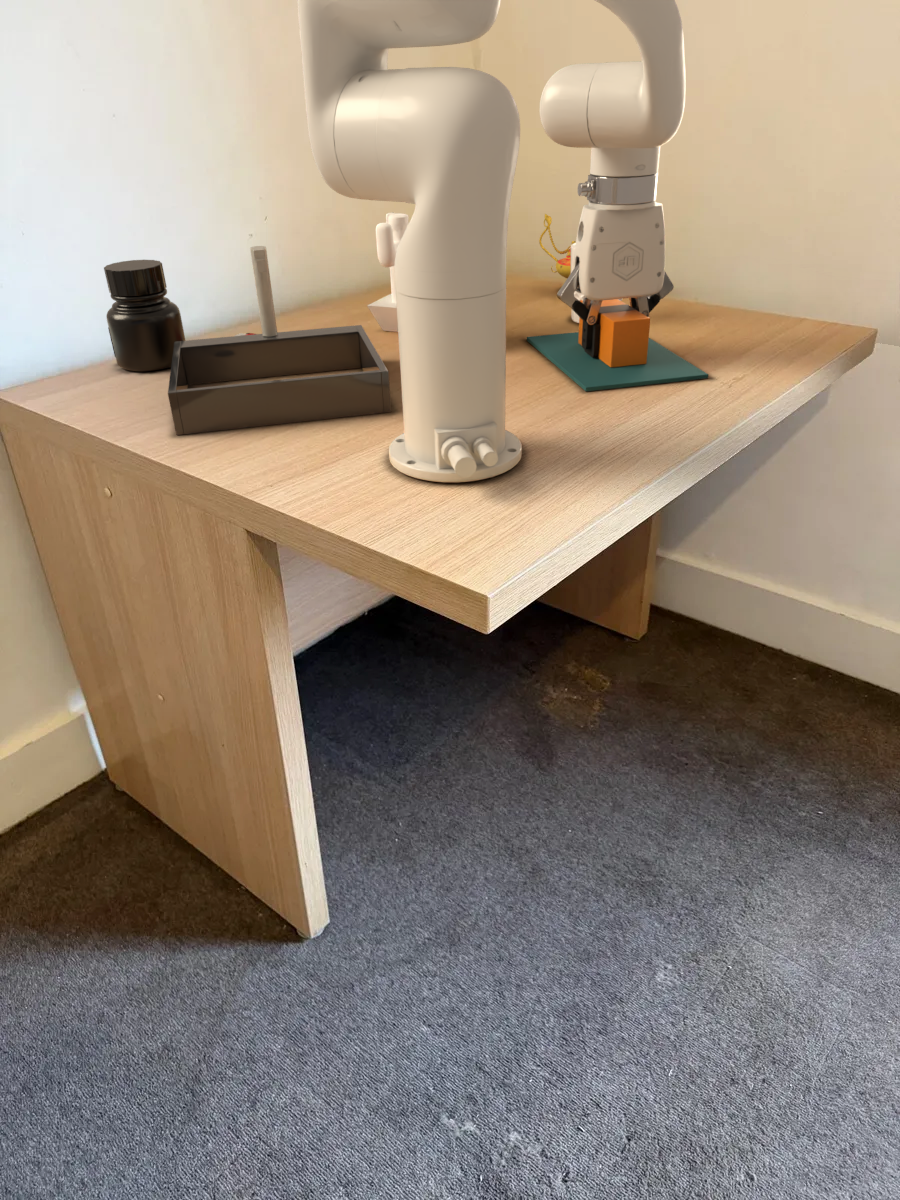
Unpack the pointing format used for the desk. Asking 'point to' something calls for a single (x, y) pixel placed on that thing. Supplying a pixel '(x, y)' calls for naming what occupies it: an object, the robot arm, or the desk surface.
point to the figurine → (386, 251)
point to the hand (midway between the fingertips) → (611, 350)
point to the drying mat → (601, 376)
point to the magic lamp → (563, 264)
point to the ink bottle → (142, 316)
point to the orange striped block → (621, 334)
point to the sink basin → (275, 373)
